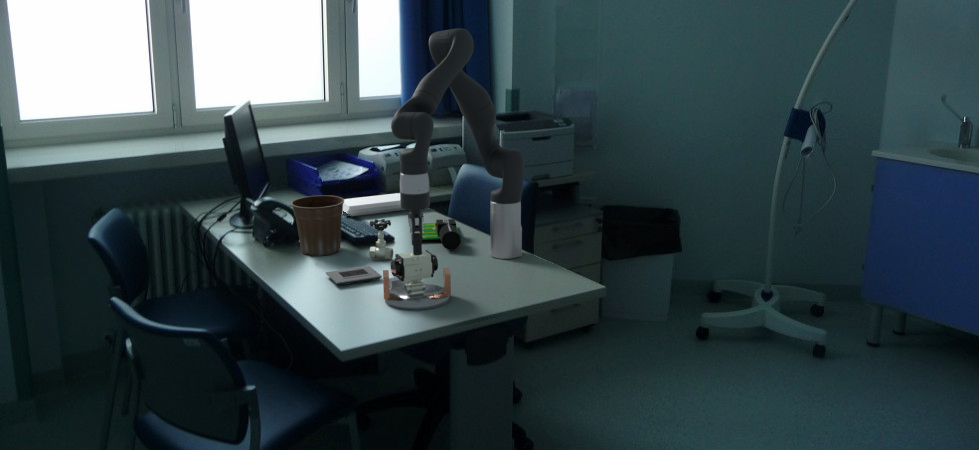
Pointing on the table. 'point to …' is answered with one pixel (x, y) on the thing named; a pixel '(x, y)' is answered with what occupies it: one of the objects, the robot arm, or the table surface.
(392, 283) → the grey rectangular block
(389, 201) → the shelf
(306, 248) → the plant pot
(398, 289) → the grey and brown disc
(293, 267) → the table surface
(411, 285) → the pneumatic valve
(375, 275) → the electrical outlet
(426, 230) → the circuit board with cylinder
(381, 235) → the valve
